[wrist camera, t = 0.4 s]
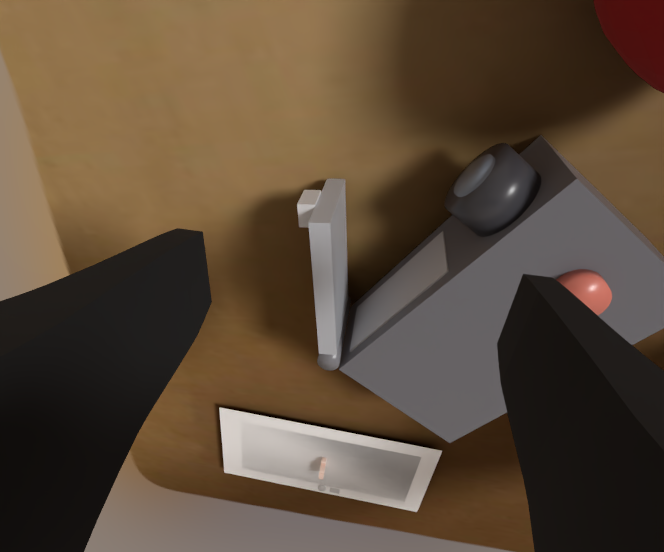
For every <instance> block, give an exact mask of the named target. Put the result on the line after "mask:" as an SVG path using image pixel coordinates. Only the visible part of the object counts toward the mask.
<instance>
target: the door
mask: <svg viewBox="0 0 664 552" xmlns="http://www.w3.org/2000/svg"><path fill="white" fill-rule="evenodd" d="M297 210H298V220H299V227H306V228H309V237H310V249H311V262H312V274H313V286H314V299H315V311H316V323H317V336H318V348H319V356H318V360H317V362H318V365H319V366H320V367H321V368H323V369H325V370H335V369H337V368H338V367H339V364H340V358H341V353H342V348H343V343H344V337H345V332H346V327H347V322H348V316H349V311H350V306H351V298H350V297H349V296H348V268H347V231H346V193H345V179H327V180H326V182H325V185H324V187H323V189H322V192H321V190H304V191H303V193H302V195H301V197H300V199H299V201H298V203H297Z"/></svg>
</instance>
